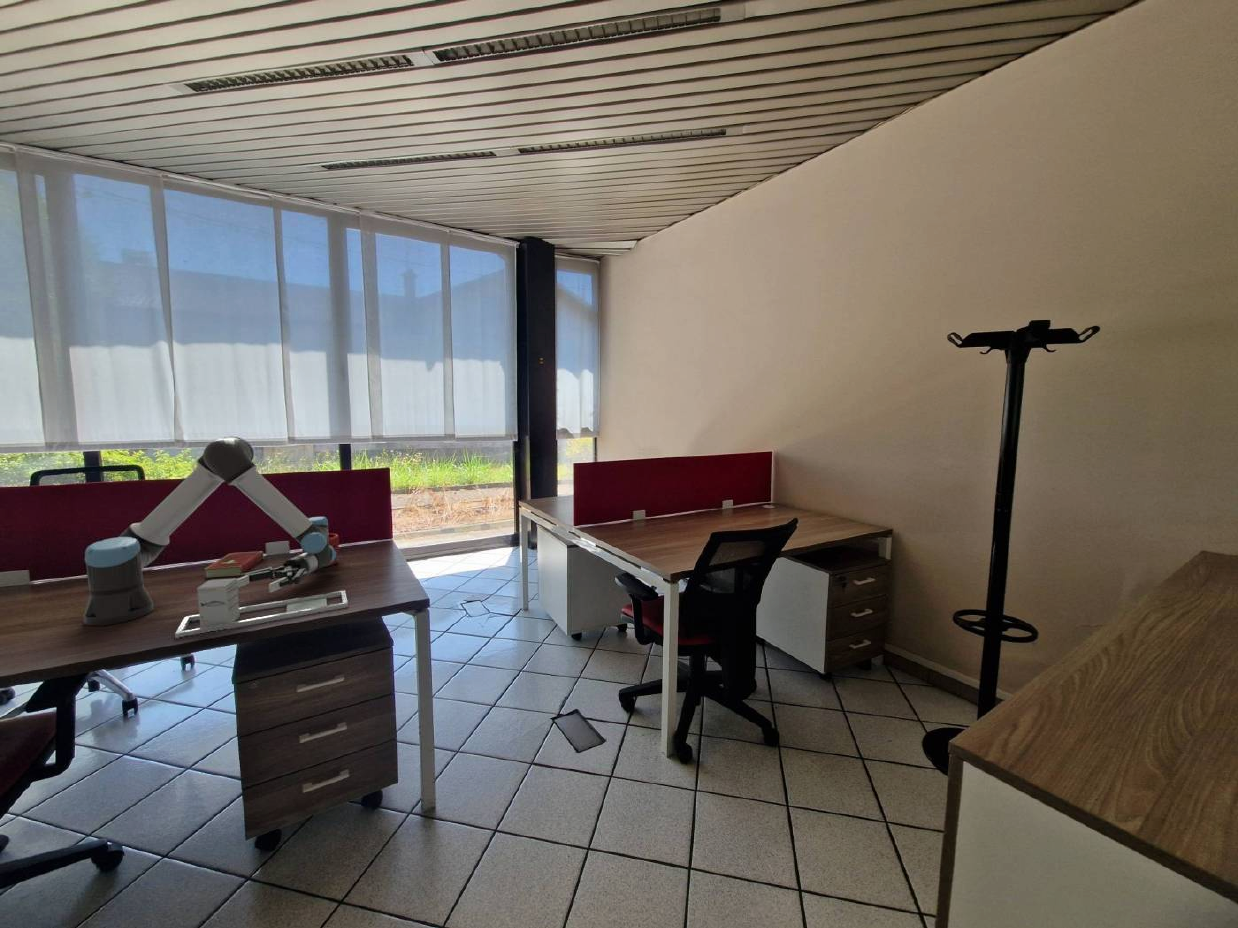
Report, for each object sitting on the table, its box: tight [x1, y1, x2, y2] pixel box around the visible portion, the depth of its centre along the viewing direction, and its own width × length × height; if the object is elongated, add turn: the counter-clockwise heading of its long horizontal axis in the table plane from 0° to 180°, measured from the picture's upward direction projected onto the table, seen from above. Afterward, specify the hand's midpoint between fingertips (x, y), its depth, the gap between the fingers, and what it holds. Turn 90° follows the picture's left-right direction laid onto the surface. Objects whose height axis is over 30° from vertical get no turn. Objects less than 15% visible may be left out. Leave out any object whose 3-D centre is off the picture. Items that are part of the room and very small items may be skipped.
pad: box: [285, 598, 328, 613], centre depth 159 cm, size 11×10×1 cm
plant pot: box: [301, 533, 340, 568], centre depth 201 cm, size 13×13×12 cm
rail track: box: [174, 589, 349, 639], centre depth 154 cm, size 42×13×2 cm, turn 122°
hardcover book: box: [203, 550, 264, 579], centre depth 196 cm, size 12×21×4 cm, turn 17°
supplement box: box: [196, 577, 240, 628], centre depth 147 cm, size 7×7×13 cm
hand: (250, 587), depth 157 cm, fingers open, 13 cm apart
